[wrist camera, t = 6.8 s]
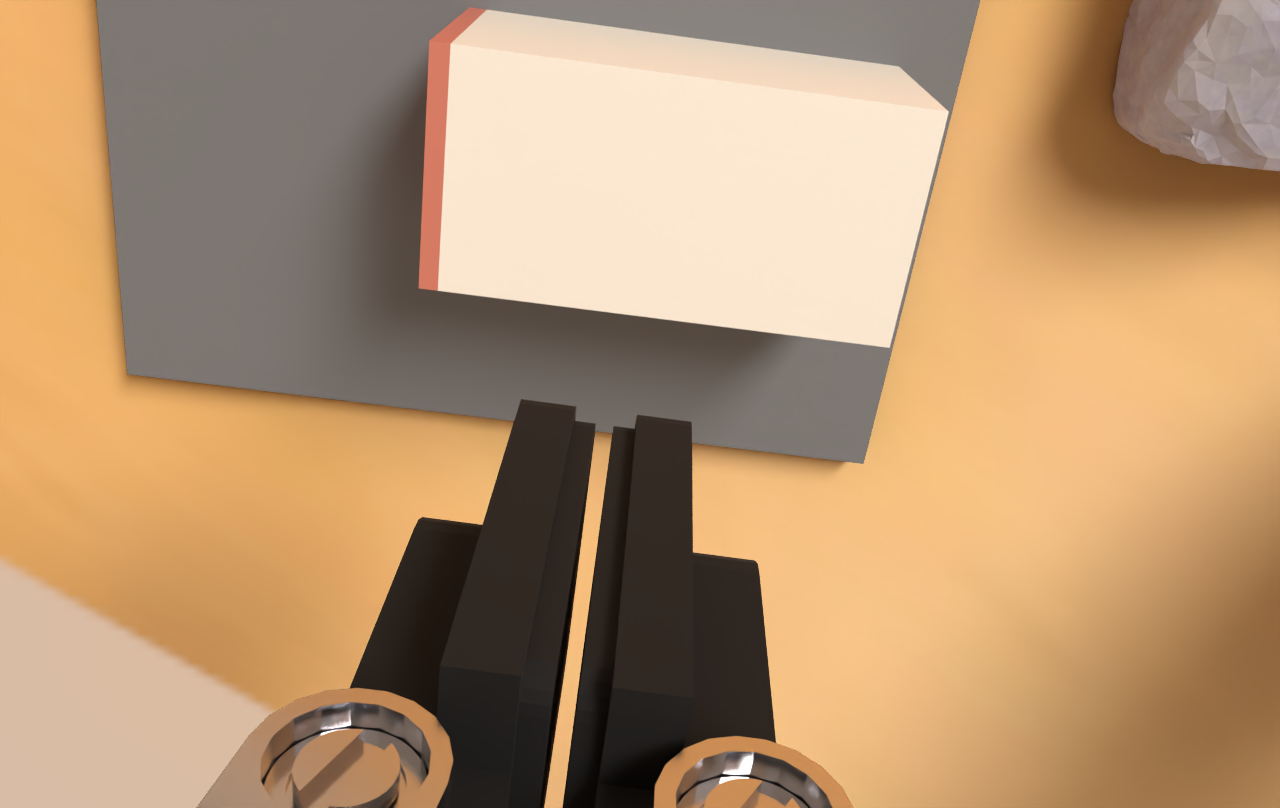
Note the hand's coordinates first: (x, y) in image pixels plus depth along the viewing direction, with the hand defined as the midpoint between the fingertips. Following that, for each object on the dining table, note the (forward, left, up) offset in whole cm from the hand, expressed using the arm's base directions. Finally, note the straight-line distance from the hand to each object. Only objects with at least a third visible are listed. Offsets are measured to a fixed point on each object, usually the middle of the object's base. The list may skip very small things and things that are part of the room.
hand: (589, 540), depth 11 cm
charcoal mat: (+2, 0, -18) cm, 18 cm away
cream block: (+4, 0, -15) cm, 16 cm away
